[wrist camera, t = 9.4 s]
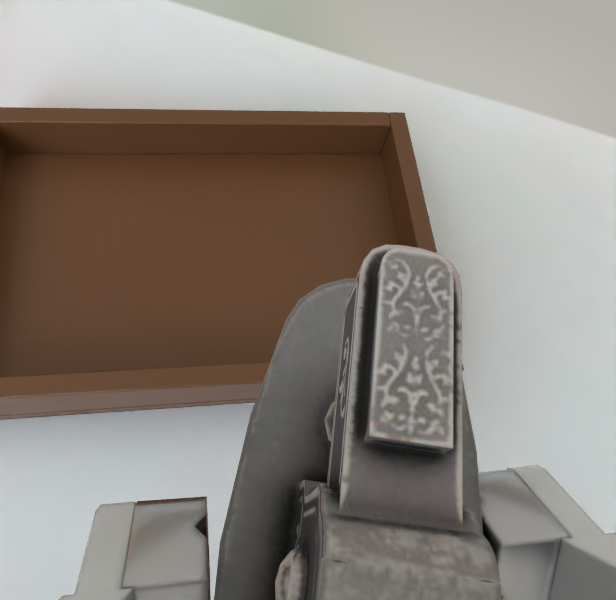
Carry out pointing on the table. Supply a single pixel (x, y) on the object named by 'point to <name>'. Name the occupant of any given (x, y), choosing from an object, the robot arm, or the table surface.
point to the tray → (181, 245)
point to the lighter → (363, 449)
